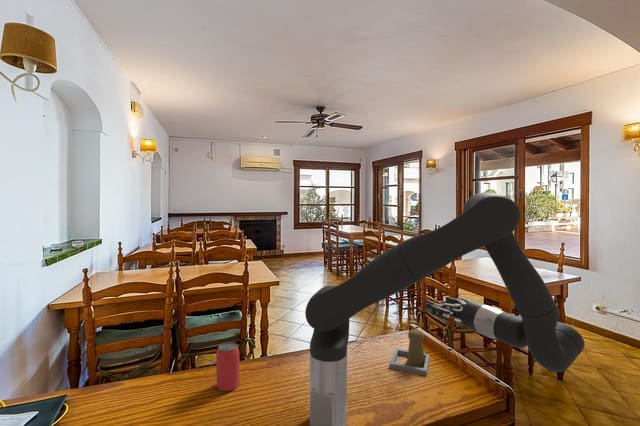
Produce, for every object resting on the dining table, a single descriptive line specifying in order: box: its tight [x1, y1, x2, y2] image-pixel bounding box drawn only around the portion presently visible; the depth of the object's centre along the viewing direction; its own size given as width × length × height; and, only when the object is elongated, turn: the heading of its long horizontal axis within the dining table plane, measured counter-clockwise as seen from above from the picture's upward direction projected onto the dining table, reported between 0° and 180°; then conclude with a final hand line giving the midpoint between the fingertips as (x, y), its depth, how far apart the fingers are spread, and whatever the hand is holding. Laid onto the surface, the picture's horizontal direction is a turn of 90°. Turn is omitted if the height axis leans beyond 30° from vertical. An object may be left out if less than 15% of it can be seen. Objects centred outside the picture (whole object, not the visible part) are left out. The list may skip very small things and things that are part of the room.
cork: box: [406, 328, 425, 368], centre depth 106 cm, size 6×6×11 cm
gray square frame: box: [389, 348, 430, 376], centre depth 106 cm, size 12×12×2 cm
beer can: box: [215, 341, 240, 392], centre depth 93 cm, size 7×7×12 cm
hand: (436, 301), depth 95 cm, fingers open, 8 cm apart
